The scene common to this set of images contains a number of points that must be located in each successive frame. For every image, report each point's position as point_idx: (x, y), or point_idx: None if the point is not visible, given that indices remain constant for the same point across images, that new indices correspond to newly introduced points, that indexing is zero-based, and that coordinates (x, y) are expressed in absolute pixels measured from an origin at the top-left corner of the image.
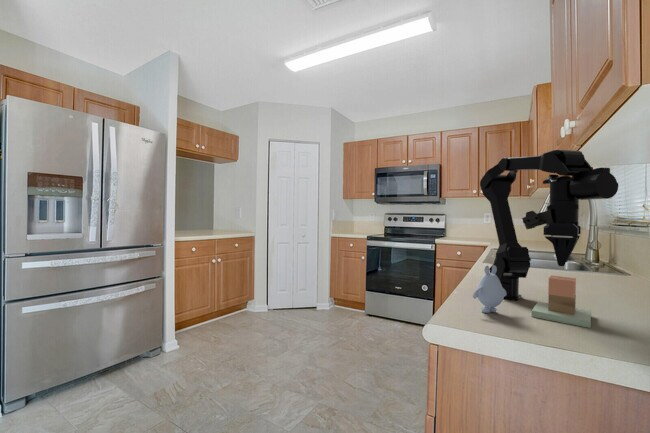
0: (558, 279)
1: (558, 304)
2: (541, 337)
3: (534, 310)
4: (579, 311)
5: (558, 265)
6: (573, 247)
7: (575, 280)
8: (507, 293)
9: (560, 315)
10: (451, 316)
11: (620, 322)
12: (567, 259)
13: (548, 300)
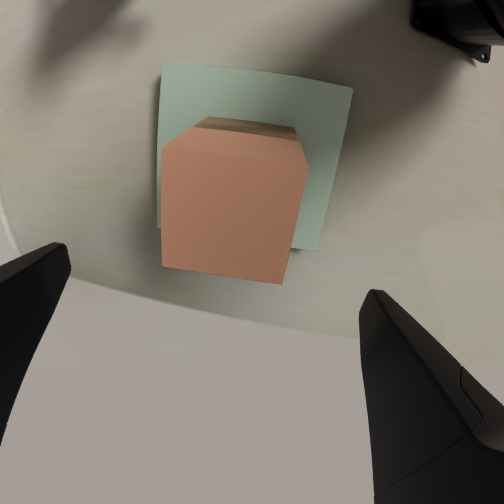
0: (161, 197)
1: None
2: (13, 123)
3: (171, 73)
4: None
5: (53, 243)
6: (373, 454)
7: (237, 273)
8: None
9: (161, 153)
10: None
11: (289, 293)
12: (361, 336)
13: (199, 122)
